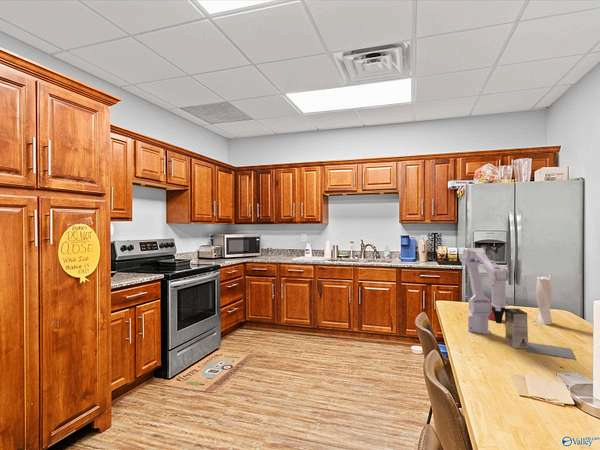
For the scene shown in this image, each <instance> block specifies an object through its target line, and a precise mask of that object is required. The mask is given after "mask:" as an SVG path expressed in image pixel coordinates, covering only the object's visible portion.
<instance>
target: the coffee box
mask: <svg viewBox="0 0 600 450" xmlns="http://www.w3.org/2000/svg"><path fill="white" fill-rule="evenodd" d="M504 324H505V325H504V328H505V342H506V343H507V344H508V345H510V346H511V347H512V348H513V349H526V348H528V342H529V337H528V336H529V332H528V330H529V329H528V312H526V311H524V310H522V309H520V308H505V312H504Z"/></svg>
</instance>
